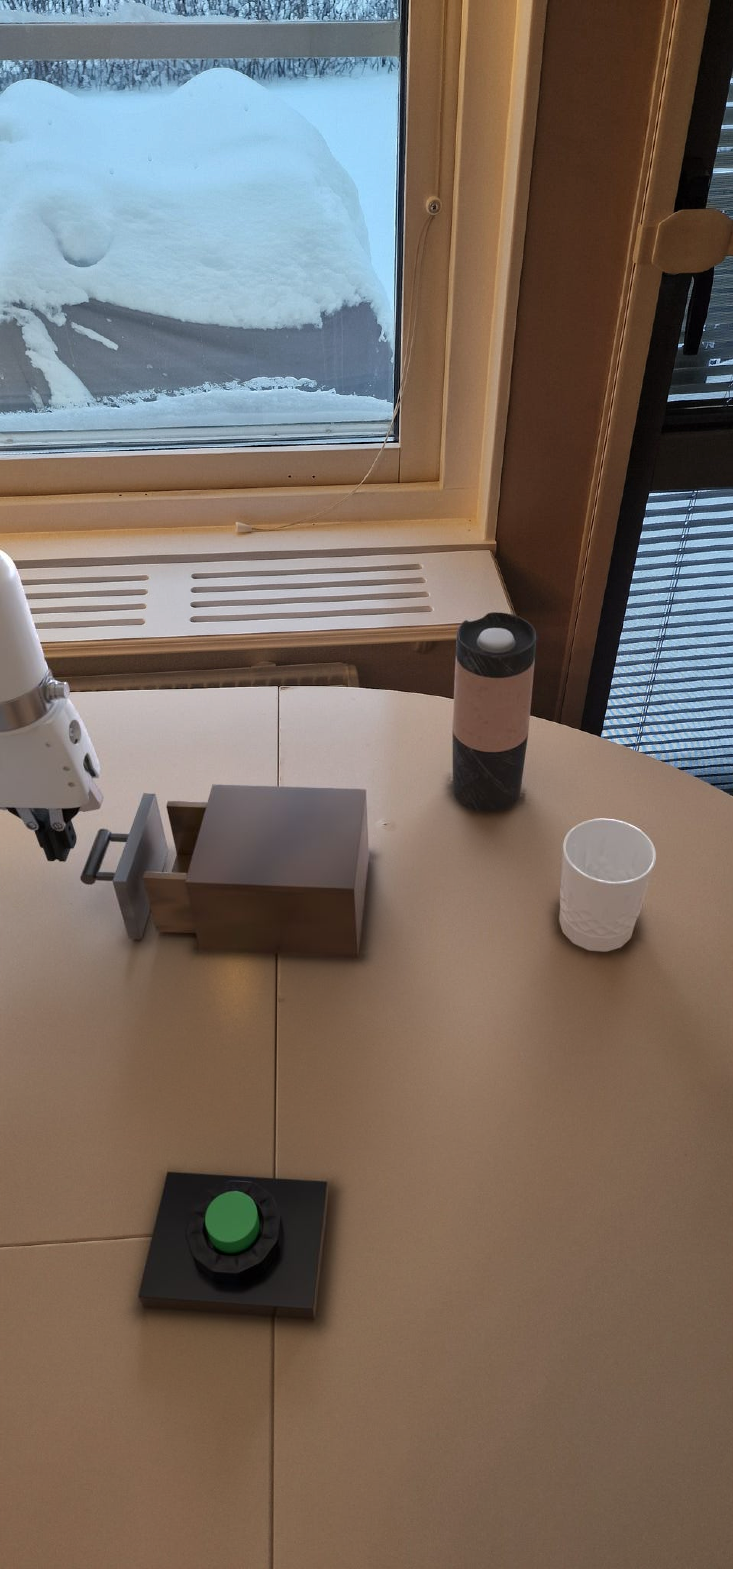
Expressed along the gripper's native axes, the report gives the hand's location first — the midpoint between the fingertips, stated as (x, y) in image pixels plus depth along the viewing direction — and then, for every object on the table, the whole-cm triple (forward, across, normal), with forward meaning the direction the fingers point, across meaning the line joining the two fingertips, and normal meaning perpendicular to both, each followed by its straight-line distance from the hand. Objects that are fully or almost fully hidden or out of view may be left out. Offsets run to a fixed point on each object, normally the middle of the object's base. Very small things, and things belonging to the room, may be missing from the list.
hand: (61, 850), depth 97 cm
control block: (+6, -22, +33) cm, 40 cm away
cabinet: (+6, -21, 0) cm, 22 cm away
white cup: (+7, -50, +1) cm, 50 cm away
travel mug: (+7, -40, -17) cm, 44 cm away
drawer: (+5, -11, 0) cm, 13 cm away
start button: (+3, -22, +33) cm, 40 cm away
